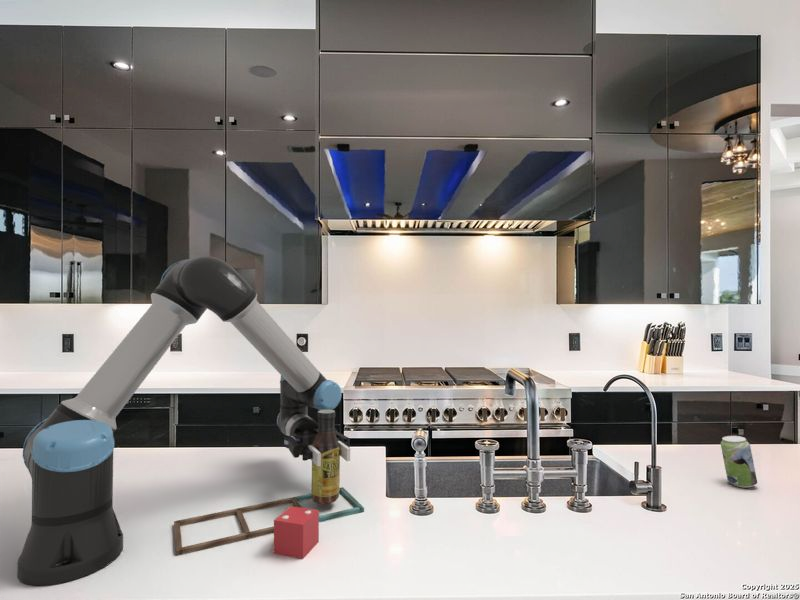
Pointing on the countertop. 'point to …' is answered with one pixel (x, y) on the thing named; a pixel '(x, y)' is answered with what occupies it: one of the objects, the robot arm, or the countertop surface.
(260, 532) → the brown flat rectangular frame
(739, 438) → the beverage can
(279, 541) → the red die
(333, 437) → the sauce bottle
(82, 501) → the robot arm
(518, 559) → the countertop surface
